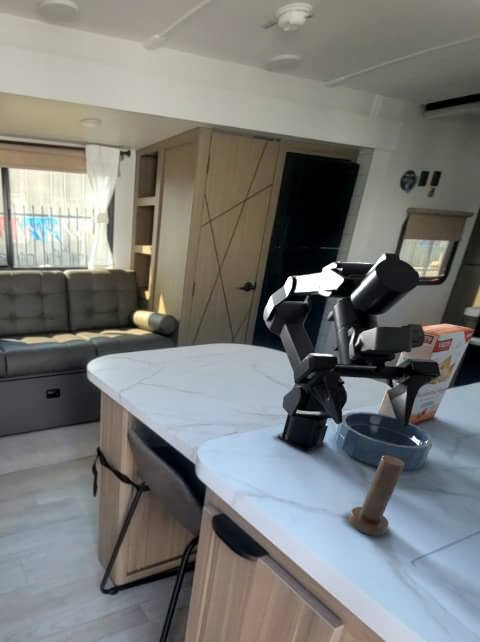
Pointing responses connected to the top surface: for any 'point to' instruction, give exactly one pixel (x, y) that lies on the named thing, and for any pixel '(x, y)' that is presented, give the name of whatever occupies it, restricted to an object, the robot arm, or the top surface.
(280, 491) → the top surface
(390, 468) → the brown flanged rod
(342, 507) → the top surface
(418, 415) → the cracker box
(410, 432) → the bowl
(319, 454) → the top surface
